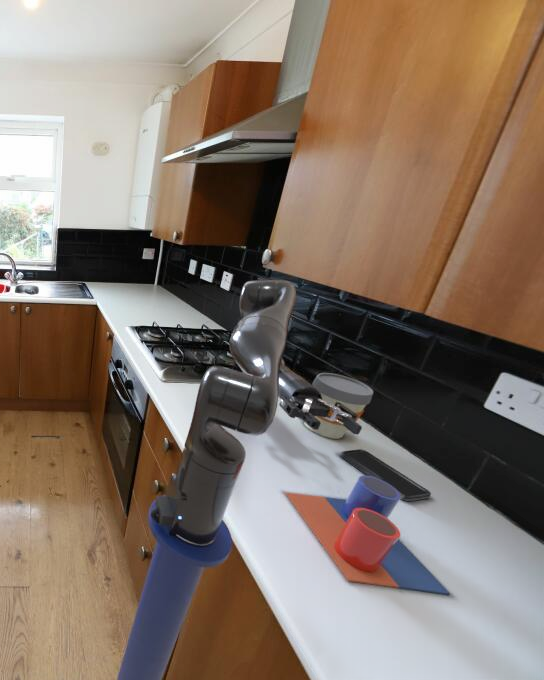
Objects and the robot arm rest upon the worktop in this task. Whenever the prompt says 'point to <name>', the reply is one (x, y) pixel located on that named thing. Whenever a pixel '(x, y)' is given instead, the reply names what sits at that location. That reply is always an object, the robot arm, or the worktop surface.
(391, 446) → the worktop surface
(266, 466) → the worktop surface
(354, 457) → the phone
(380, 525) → the red beaker
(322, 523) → the sorting mat
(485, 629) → the worktop surface
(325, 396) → the reusable coffee cup
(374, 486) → the blue beaker
